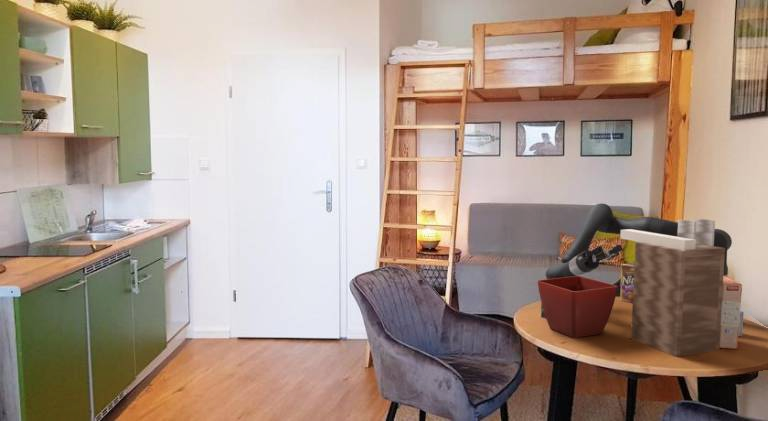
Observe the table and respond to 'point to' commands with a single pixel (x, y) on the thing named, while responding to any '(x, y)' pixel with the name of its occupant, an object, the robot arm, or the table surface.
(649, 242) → the cream box
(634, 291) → the walnut shelf
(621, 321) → the table surface
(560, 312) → the plant pot
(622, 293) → the candy box
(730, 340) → the cracker box
